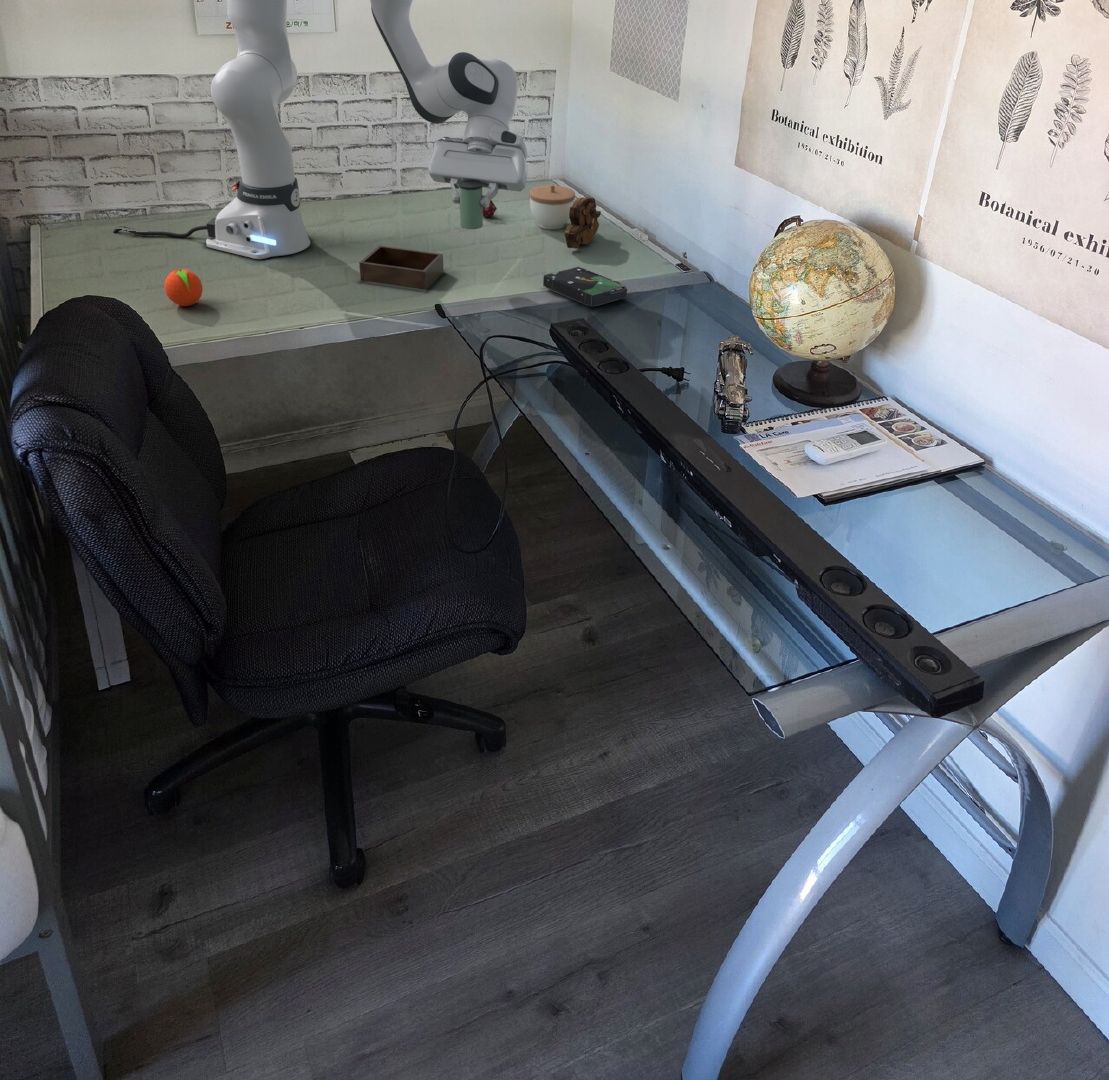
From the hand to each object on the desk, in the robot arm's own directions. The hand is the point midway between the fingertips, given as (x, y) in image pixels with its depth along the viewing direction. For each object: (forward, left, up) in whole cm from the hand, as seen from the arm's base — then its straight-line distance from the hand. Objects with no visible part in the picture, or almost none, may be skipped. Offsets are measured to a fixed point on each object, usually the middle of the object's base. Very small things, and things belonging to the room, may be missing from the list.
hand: (470, 204), depth 201 cm
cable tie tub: (0, +1, -5) cm, 5 cm away
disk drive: (+25, -1, -15) cm, 29 cm away
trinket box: (+7, +37, -16) cm, 41 cm away
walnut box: (-14, -5, -15) cm, 21 cm away
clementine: (-48, -32, -16) cm, 59 cm away
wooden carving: (+18, +28, -16) cm, 36 cm away
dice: (-9, +37, -16) cm, 41 cm away
